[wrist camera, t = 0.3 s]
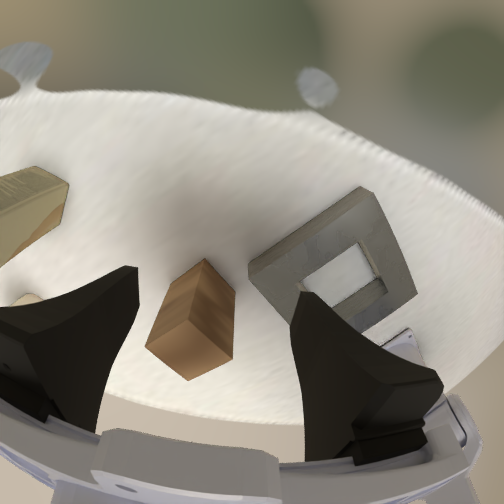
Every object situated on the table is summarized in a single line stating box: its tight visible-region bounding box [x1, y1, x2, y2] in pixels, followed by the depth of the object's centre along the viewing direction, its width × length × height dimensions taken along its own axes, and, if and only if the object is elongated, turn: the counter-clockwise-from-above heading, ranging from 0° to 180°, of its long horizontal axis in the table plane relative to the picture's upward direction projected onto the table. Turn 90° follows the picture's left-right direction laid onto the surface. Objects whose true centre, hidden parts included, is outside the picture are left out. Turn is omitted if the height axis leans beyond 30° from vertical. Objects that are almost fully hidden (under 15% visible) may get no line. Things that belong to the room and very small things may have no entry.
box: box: [0, 166, 69, 268], centre depth 14 cm, size 5×4×11 cm
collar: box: [248, 186, 418, 333], centre depth 22 cm, size 11×11×2 cm
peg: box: [145, 259, 235, 381], centre depth 19 cm, size 4×4×8 cm
